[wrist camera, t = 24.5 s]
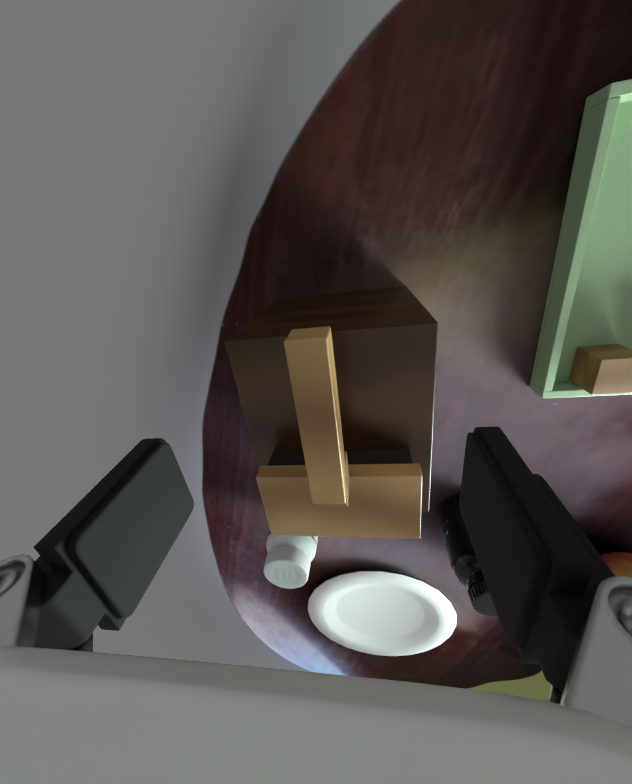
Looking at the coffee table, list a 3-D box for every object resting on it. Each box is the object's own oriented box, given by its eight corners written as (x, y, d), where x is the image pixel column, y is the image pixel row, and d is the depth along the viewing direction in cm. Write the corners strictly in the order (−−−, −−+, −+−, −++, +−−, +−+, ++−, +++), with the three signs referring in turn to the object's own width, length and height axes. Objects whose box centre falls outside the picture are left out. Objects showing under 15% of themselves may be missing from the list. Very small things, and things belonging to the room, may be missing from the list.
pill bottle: (275, 505, 46) (252, 580, 36) (288, 476, 43) (266, 550, 33) (314, 519, 46) (301, 598, 36) (329, 492, 43) (320, 569, 33)
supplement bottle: (426, 506, 42) (448, 597, 32) (471, 483, 40) (512, 574, 29) (455, 534, 44) (485, 630, 33) (500, 514, 41) (549, 611, 31)
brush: (413, 503, 24) (429, 586, 18) (281, 502, 26) (258, 578, 20) (417, 296, 17) (445, 327, 11) (236, 314, 19) (183, 349, 13)
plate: (480, 585, 48) (484, 597, 47) (422, 658, 60) (424, 669, 58) (325, 546, 49) (323, 556, 47) (297, 626, 60) (296, 636, 59)
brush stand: (276, 299, 32) (224, 341, 20) (406, 285, 30) (438, 322, 18) (298, 422, 39) (269, 510, 26) (405, 417, 36) (429, 512, 24)
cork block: (576, 346, 30) (601, 359, 27) (618, 343, 29) (648, 356, 26) (568, 379, 31) (591, 395, 28) (607, 377, 31) (635, 393, 28)
